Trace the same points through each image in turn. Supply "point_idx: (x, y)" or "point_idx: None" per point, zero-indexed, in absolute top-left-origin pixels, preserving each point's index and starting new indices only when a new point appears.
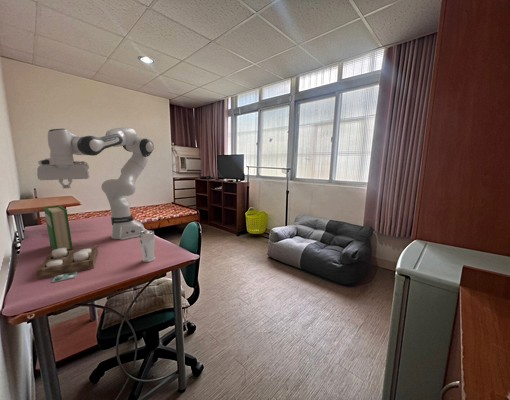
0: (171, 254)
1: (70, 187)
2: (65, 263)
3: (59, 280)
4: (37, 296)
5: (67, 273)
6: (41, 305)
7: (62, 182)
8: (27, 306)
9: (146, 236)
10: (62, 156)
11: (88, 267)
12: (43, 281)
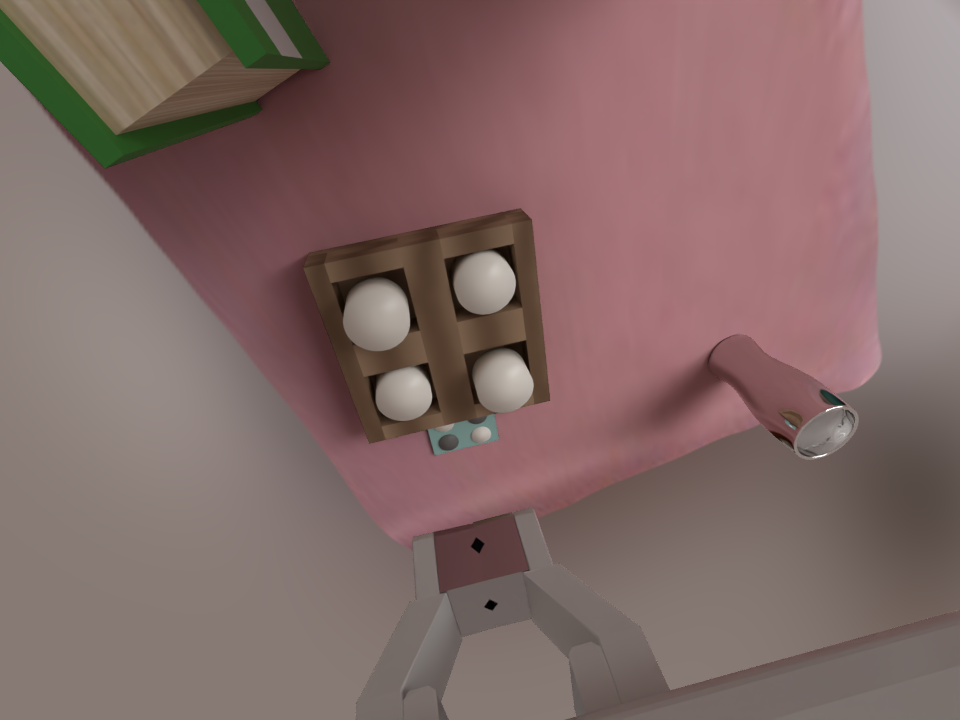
0: (819, 329)
1: (534, 514)
2: (450, 405)
3: (455, 449)
4: (435, 510)
5: None
6: None
7: (419, 670)
8: None
9: (806, 451)
10: None
11: None
12: (401, 439)
